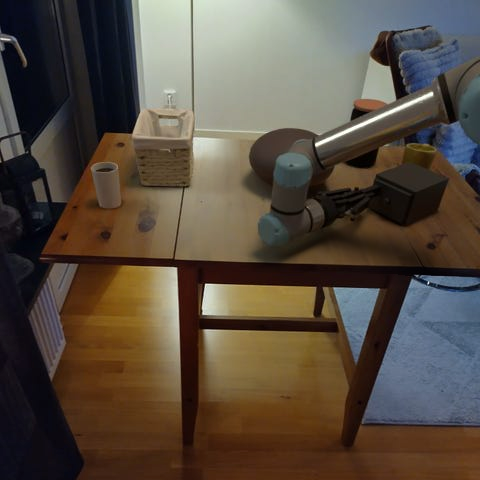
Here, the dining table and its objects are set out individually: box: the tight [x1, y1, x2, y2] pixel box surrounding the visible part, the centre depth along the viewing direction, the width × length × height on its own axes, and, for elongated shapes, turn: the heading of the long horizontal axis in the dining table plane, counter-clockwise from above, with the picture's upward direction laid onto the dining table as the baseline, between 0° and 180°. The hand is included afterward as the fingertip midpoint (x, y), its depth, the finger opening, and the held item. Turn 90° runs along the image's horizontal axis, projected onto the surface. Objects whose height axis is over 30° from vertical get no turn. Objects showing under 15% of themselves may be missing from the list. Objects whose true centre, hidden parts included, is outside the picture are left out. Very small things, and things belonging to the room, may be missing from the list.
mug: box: [401, 142, 437, 171], centre depth 145 cm, size 12×10×10 cm
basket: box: [131, 108, 195, 188], centre depth 135 cm, size 24×16×15 cm
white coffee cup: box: [90, 161, 122, 210], centre depth 120 cm, size 7×7×10 cm
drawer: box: [368, 178, 412, 224], centre depth 123 cm, size 15×11×8 cm
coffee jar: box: [344, 98, 389, 169], centre depth 145 cm, size 11×11×18 cm
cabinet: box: [368, 162, 450, 227], centre depth 124 cm, size 15×13×10 cm
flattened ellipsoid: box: [248, 127, 336, 189], centre depth 132 cm, size 25×25×15 cm
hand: (376, 190), depth 121 cm, fingers closed
